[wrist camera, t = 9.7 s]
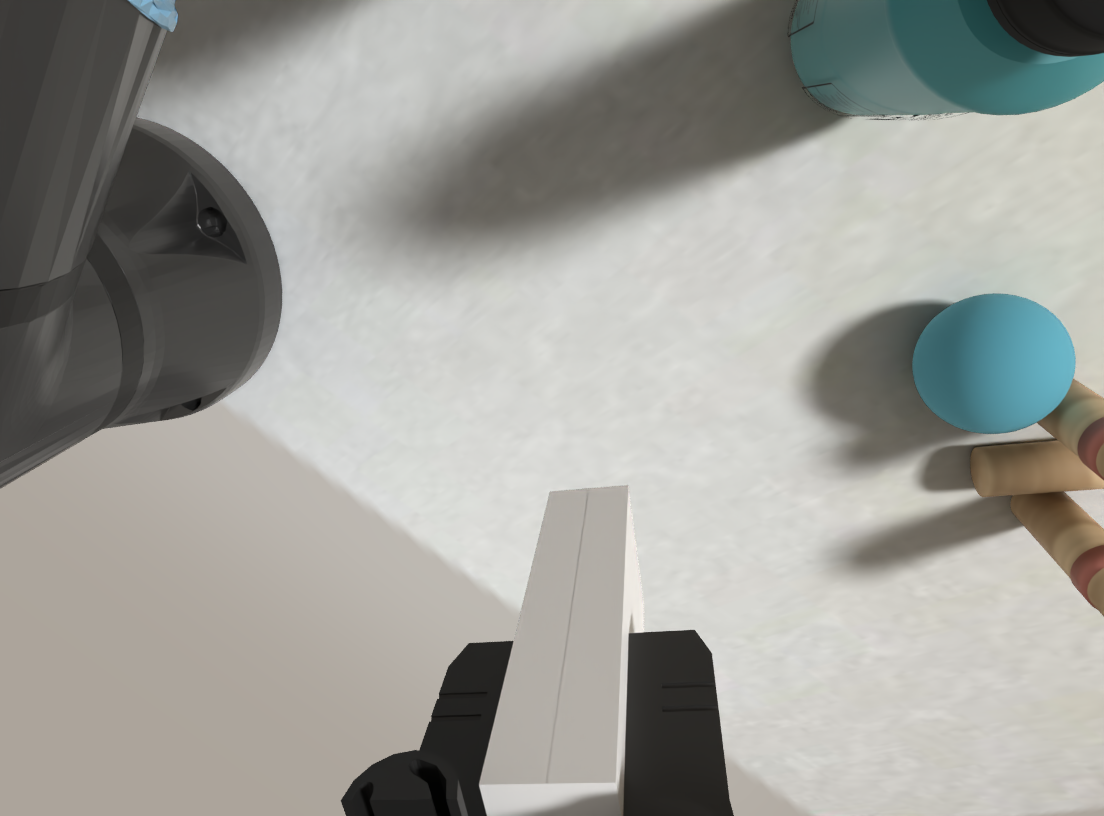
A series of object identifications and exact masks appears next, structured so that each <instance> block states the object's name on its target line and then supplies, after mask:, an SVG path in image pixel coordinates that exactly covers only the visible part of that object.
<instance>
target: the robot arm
mask: <svg viewBox="0 0 1104 816" xmlns="http://www.w3.org/2000/svg"><path fill="white" fill-rule="evenodd" d="M175 1H176V0H0V488H2V487H4V486H6V485H7V484H9V483H11V482H13V481H14V480H16V479H18V478H19V477H21V476H23V475H24V474H26V473H28V472H30V471H31V470H33V469H35V468H36V467H38V466H40V465H42V464H43V463H45V462H47V461H48V460H50V459H52V458H53V457H55V456H57V455H58V454H60V453H62V452H64V451H65V450H67V449H69V448H70V447H72V446H74V445H76V444H77V443H79V442H81V441H82V440H84V439H85V438H87V437H89V436H90V435H92V434H94V433H96V432H97V431H99V430H101V429H104V428H112V427H118V426H126V425H133V424H140V423H147V422H155V421H162V420H169V419H175V418H180V417H184V416H187V415H191V414H193V413H196V412H198V411H201V410H204V409H206V408H208V407H210V406H212V405H213V404H215V403H217V402H218V401H220V400H221V399H223V398H224V397H226V396H227V395H229V394H230V393H232V392H233V391H235V390H236V389H238V388H239V387H241V386H242V385H243V384H244V383H246V382H247V381H248V380H249V379H250V378H251V377H252V376H253V375H254V374H255V373H256V372H257V370H258V369H259V368H260V367H261V365H262V364H263V362H264V361H265V359H266V357H267V356H268V354H269V352H270V350H271V348H272V345H273V343H274V341H275V338H276V334H277V331H278V327H279V323H280V317H281V309H282V284H281V275H280V269H279V264H278V259H277V255H276V252H275V248H274V245H273V242H272V240H271V237H270V234H269V232H268V230H267V227H266V225H265V223H264V221H263V219H262V217H261V215H260V213H259V211H258V210H257V208H256V206H255V205H254V203H253V201H252V200H251V198H250V197H249V196H248V194H247V193H246V191H245V190H244V189H243V187H242V186H241V185H240V183H239V182H238V181H237V180H236V179H235V178H234V176H233V175H232V174H231V173H230V172H229V171H228V170H227V169H226V168H225V167H224V166H223V165H222V164H221V163H220V162H219V161H218V160H217V159H216V158H214V157H213V156H212V155H211V154H210V153H208V152H207V151H206V150H205V149H203V148H202V147H201V146H199V145H198V144H196V143H195V142H193V141H192V140H190V139H188V138H187V137H185V136H183V135H182V134H180V133H178V132H176V131H174V130H172V129H170V128H167V127H165V126H162V125H160V124H157V123H154V122H151V121H148V120H144V119H140V118H136V116H137V113H138V110H139V108H140V105H141V102H142V99H143V96H144V94H145V91H146V88H147V85H148V83H149V80H150V77H151V74H152V71H153V69H154V66H155V63H156V60H157V58H158V55H159V52H160V49H161V46H162V44H163V41H164V38H165V35H166V33H167V30H168V31H171V32H173V31H174V29H175V27H176V24H177V19H178V13H177V11H176V9H175V6H174V5H175ZM431 717H432V720H431V722H429V724H428V727H427V730H426V733H425V736H424V739H423V742H422V745H421V747H420V750H419V751H417V750H414V751H409V752H403V753H398V754H393V755H391V756H389V757H387V758H385V759H383V760H381V761H379V762H377V763H375V764H373V765H371V766H370V767H369V768H368V769H367V770H365V771H364V772H363V773H362V774H361V775H360V776H359V777H357V778H356V779H355V780H354V781H353V783H352V784H351V786H350V787H349V789H348V791H347V792H346V794H345V795H344V796H343V798H342V800H341V802H342V805H343V808H344V811H345V814H346V816H734V815H733V811H732V807H731V804H730V800H729V792H728V784H727V775H726V767H725V759H724V750H723V742H722V734H721V726H720V717H719V710H718V701H717V693H716V685H715V676H714V668H713V660H712V653H711V651H710V650H709V649H708V647H707V646H706V645H705V643H704V642H703V641H702V639H701V638H700V636H699V635H698V634H697V632H696V631H695V630H684V631H663V632H644V600H643V593H642V585H641V577H640V570H639V562H638V555H637V547H636V540H635V532H634V525H633V517H632V510H631V502H630V494H629V487H628V485H625V486H612V487H600V488H588V489H576V490H564V491H552V492H550V493H549V497H548V501H547V506H546V510H545V514H544V518H543V522H542V526H541V530H540V534H539V539H538V543H537V547H536V551H535V555H534V559H533V563H532V567H531V572H530V576H529V580H528V584H527V588H526V592H525V596H524V601H523V605H522V609H521V613H520V617H519V621H518V626H517V630H516V634H515V638H514V641H504V642H485V643H469V644H468V645H467V646H466V647H465V648H464V649H463V651H462V652H461V653H460V654H459V655H458V656H457V658H456V659H455V660H454V661H453V662H452V663H451V664H450V666H449V667H448V670H447V672H446V676H445V678H444V681H443V684H442V687H441V690H440V692H439V699H437V701H436V704H435V707H434V710H433V713H432V716H431Z"/></svg>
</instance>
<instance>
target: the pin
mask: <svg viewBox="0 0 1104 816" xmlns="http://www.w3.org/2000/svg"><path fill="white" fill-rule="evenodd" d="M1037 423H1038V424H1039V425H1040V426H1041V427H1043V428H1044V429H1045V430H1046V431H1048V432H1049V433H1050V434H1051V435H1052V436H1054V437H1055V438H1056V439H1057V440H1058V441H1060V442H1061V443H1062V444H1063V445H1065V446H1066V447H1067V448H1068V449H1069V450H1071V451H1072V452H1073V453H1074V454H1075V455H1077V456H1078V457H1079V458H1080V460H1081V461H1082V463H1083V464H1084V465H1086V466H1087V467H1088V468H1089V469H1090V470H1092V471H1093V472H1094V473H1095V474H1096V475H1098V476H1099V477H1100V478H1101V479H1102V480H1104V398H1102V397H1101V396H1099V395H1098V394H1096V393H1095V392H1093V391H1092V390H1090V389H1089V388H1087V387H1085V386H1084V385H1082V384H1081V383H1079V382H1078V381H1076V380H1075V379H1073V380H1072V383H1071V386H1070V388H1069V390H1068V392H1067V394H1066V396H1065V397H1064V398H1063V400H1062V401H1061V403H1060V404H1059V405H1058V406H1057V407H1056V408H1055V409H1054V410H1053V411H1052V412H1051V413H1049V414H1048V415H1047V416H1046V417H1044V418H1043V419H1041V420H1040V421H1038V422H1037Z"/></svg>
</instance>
